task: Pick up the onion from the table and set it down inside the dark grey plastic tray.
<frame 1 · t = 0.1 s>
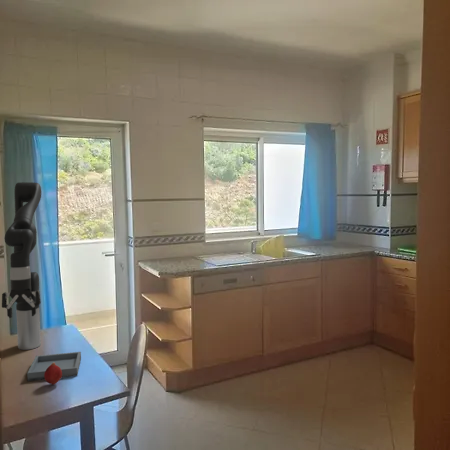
hand: (21, 316, 173), 17 cm above the table, tool pointing down, fingers open, 8 cm apart
onion: (53, 385, 148), on the table
tray: (56, 369, 162), on the table
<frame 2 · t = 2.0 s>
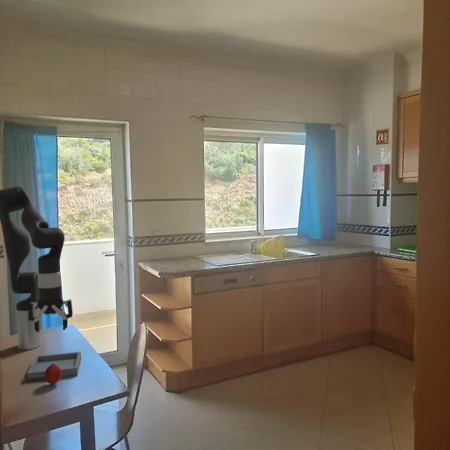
hand: (51, 330, 147), 20 cm above the table, tool pointing down, fingers open, 8 cm apart
nothing on the table moved.
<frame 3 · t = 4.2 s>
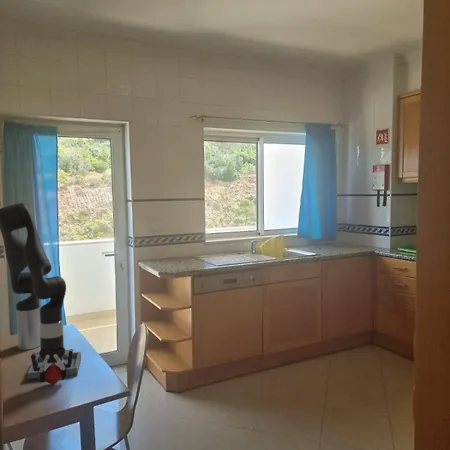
hand: (53, 380, 148), 2 cm above the table, tool pointing down, fingers closed on onion, 6 cm apart
onion: (53, 385, 148), on the table, touching gripper
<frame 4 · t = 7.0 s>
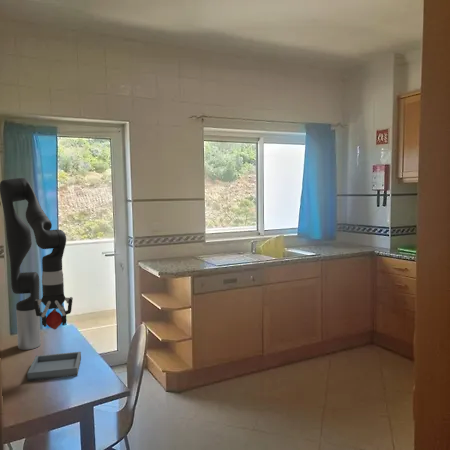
hand: (54, 325, 161), 17 cm above the table, tool pointing down, fingers closed on onion, 6 cm apart
onion: (54, 329, 161), point 15 cm above the table, touching gripper
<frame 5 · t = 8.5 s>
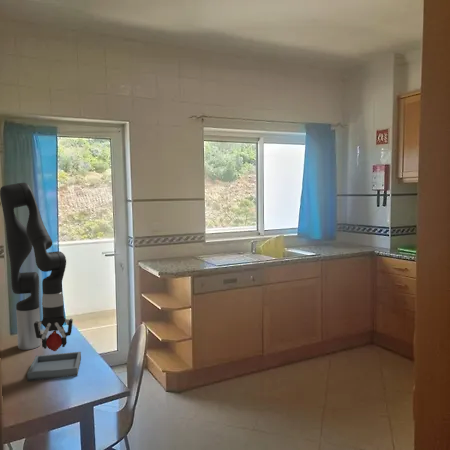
hand: (54, 347, 161), 9 cm above the table, tool pointing down, fingers closed on onion, 6 cm apart
onion: (54, 351, 161), point 7 cm above the table, touching gripper
when the fingers open (4 cm above the table, at t = 9.9 s): onion drops 2 cm, resting on tray.
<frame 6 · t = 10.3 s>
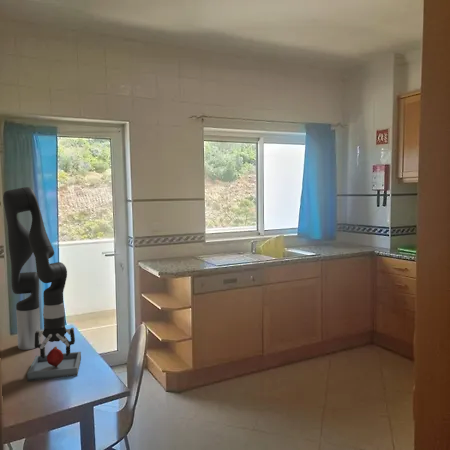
hand: (55, 356, 161), 5 cm above the table, tool pointing down, fingers open, 8 cm apart
onion: (55, 367, 162), point 1 cm above the table, touching tray
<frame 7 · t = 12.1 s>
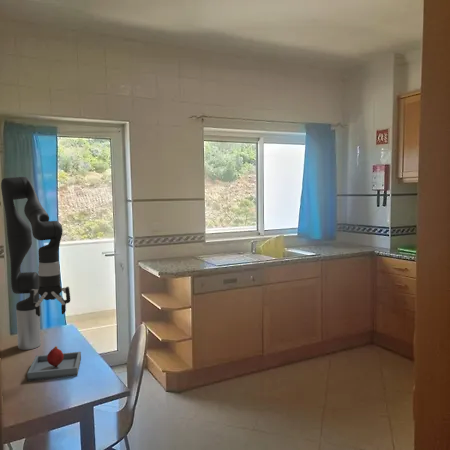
hand: (51, 314, 161), 21 cm above the table, tool pointing down, fingers open, 8 cm apart
nothing on the table moved.
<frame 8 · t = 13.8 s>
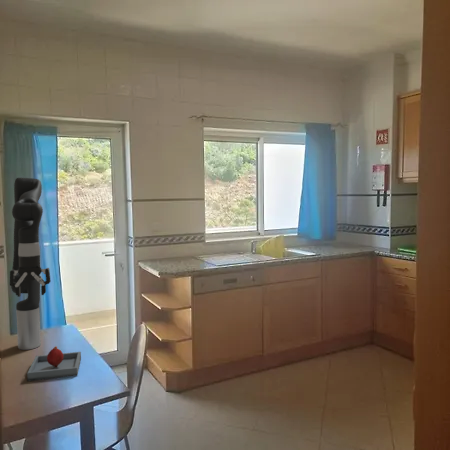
hand: (31, 295, 163), 28 cm above the table, tool pointing down, fingers open, 8 cm apart
nothing on the table moved.
at the end: onion inside the target area on the tray (0.1 cm from its centre), point 0.8 cm above the tray's base; the gripper is holding nothing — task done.
